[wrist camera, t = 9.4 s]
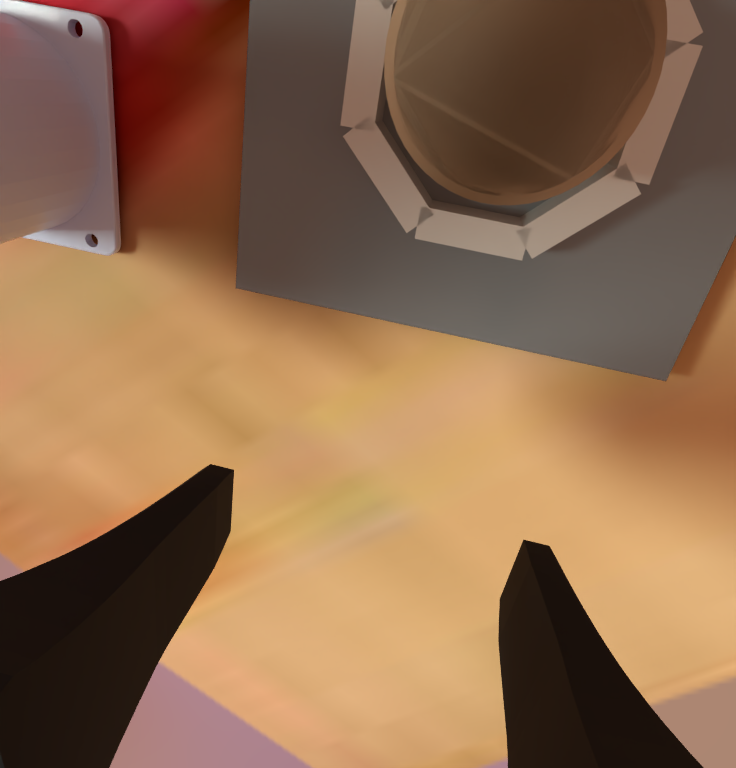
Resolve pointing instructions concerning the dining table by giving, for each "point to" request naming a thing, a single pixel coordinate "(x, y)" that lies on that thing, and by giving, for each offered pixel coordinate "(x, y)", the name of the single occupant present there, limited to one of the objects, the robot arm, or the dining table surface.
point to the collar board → (480, 220)
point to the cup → (520, 89)
